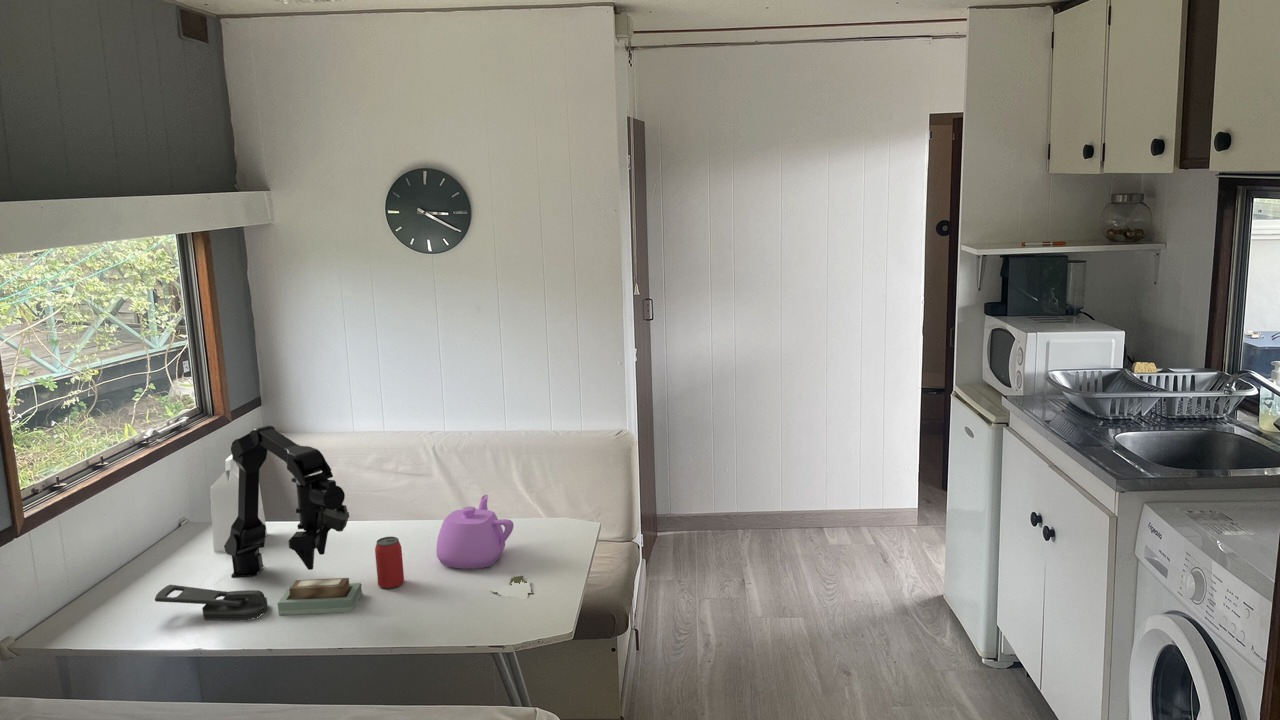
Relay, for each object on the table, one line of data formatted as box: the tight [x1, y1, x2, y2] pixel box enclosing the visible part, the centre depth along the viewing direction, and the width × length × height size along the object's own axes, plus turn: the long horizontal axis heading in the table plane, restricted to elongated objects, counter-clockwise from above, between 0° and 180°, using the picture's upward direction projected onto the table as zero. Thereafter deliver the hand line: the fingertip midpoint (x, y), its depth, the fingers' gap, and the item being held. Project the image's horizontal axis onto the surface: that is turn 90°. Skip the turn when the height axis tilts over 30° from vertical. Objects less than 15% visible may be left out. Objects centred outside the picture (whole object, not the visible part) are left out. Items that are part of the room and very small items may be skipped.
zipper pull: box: [154, 584, 269, 621], centre depth 230 cm, size 9×7×25 cm
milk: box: [209, 454, 268, 553], centre depth 273 cm, size 12×12×26 cm
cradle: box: [277, 582, 363, 616], centre depth 233 cm, size 18×10×3 cm, turn 92°
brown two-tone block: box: [288, 577, 350, 600], centre depth 233 cm, size 13×5×5 cm, turn 92°
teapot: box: [435, 494, 514, 569], centre depth 259 cm, size 23×21×15 cm
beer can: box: [374, 536, 405, 590], centre depth 243 cm, size 7×7×12 cm
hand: (316, 561), depth 232 cm, fingers open, 9 cm apart
